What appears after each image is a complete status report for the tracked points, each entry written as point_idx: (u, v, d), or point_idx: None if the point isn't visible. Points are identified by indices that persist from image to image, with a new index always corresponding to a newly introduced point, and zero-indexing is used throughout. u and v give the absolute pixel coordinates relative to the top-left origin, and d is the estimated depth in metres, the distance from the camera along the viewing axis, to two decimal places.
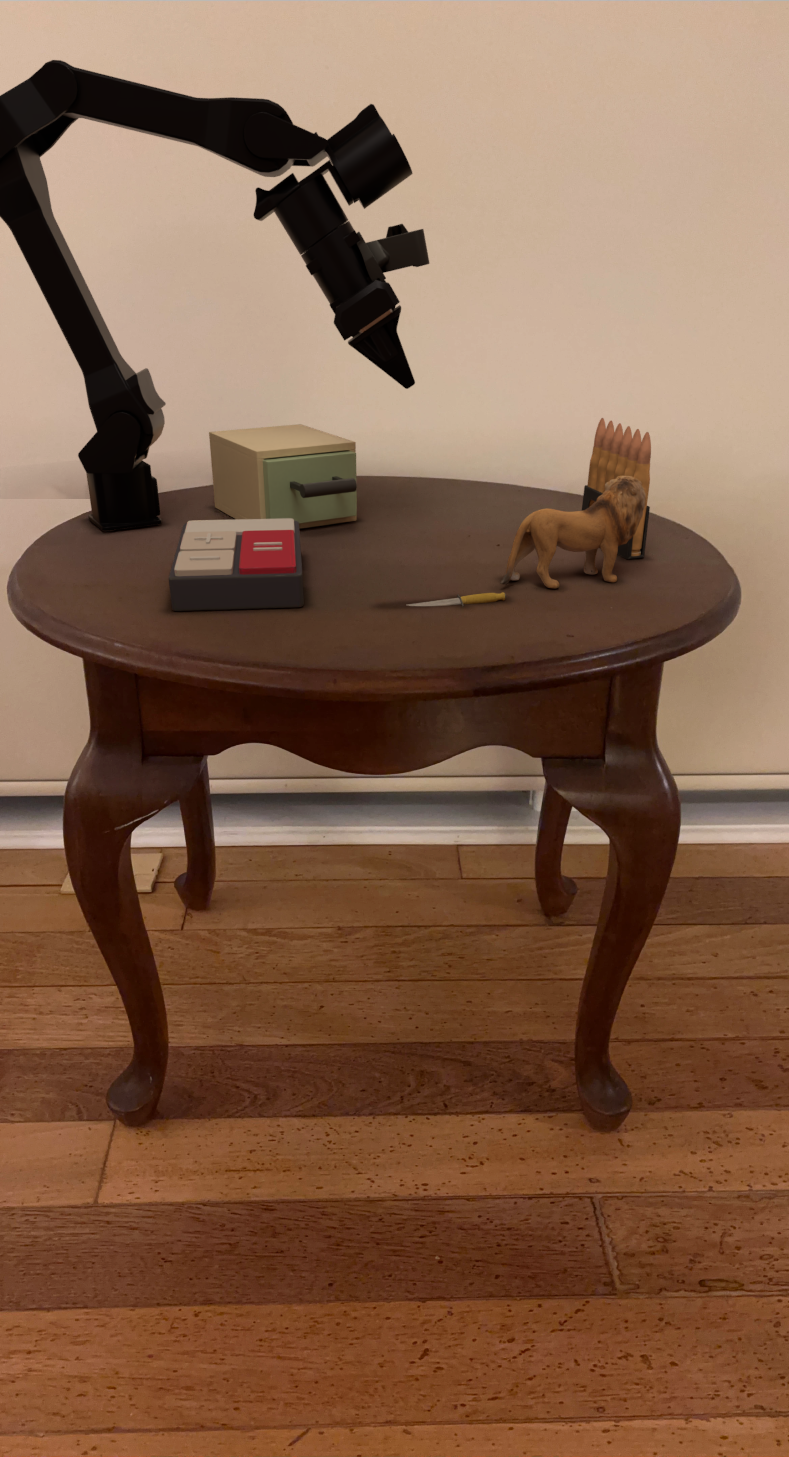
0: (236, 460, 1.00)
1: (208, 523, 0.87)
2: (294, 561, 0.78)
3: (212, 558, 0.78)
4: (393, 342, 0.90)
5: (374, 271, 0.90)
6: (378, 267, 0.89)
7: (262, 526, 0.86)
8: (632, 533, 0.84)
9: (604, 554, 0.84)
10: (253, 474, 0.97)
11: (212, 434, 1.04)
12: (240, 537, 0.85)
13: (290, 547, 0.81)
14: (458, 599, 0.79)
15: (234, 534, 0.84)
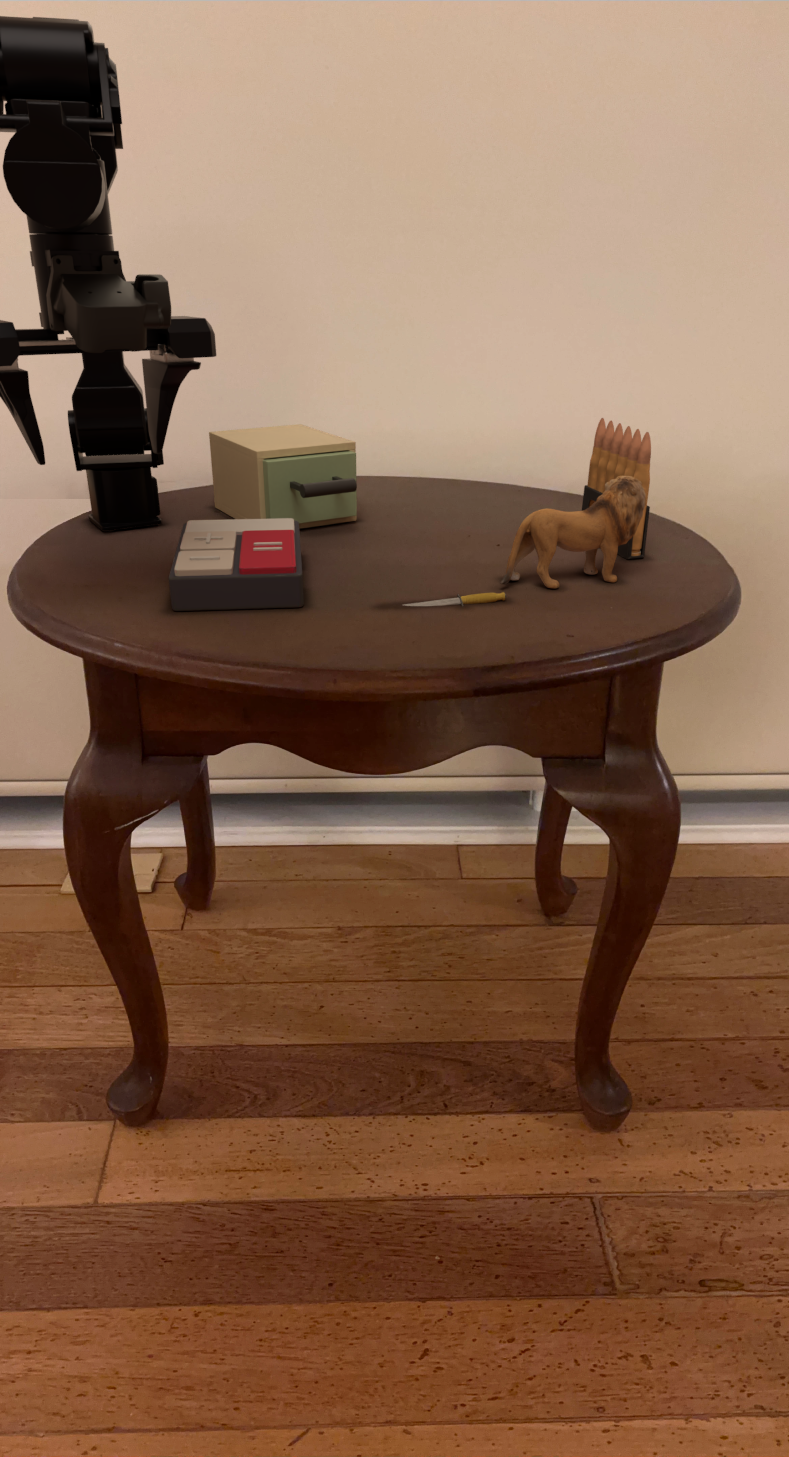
0: (236, 460, 1.00)
1: (208, 523, 0.87)
2: (294, 561, 0.78)
3: (212, 558, 0.78)
4: None
5: (50, 313, 0.65)
6: (52, 312, 0.65)
7: (262, 526, 0.86)
8: (632, 533, 0.84)
9: (604, 554, 0.84)
10: (253, 474, 0.97)
11: (212, 434, 1.04)
12: (240, 537, 0.85)
13: (290, 547, 0.81)
14: (458, 599, 0.79)
15: (234, 534, 0.84)
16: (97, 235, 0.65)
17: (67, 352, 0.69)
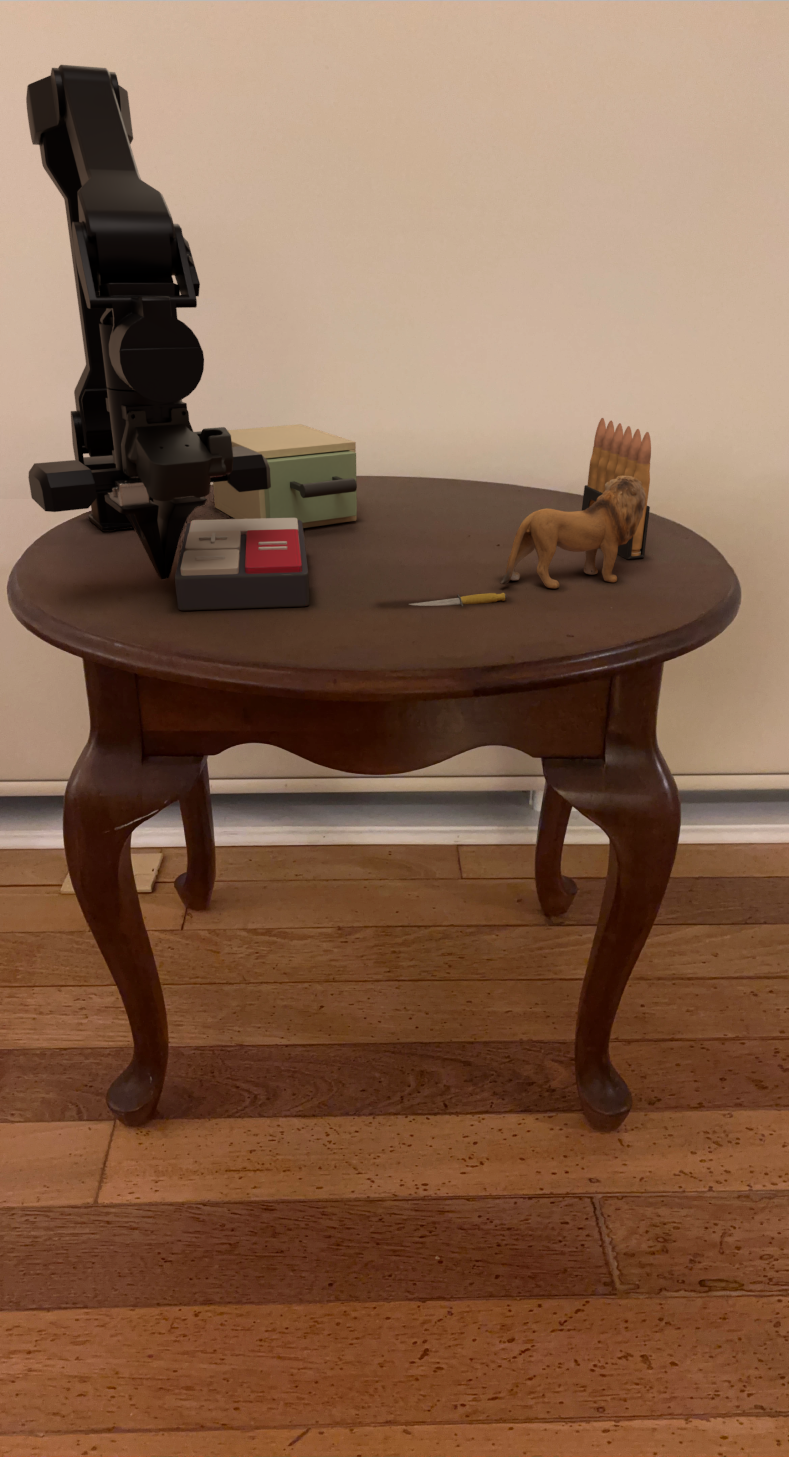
0: None
1: (212, 523, 0.87)
2: (300, 560, 0.78)
3: (218, 557, 0.78)
4: None
5: (123, 460, 0.72)
6: (126, 460, 0.72)
7: (266, 525, 0.87)
8: (632, 533, 0.84)
9: (604, 554, 0.84)
10: None
11: None
12: (244, 536, 0.85)
13: (295, 546, 0.81)
14: (458, 599, 0.79)
15: (238, 533, 0.84)
16: None
17: None
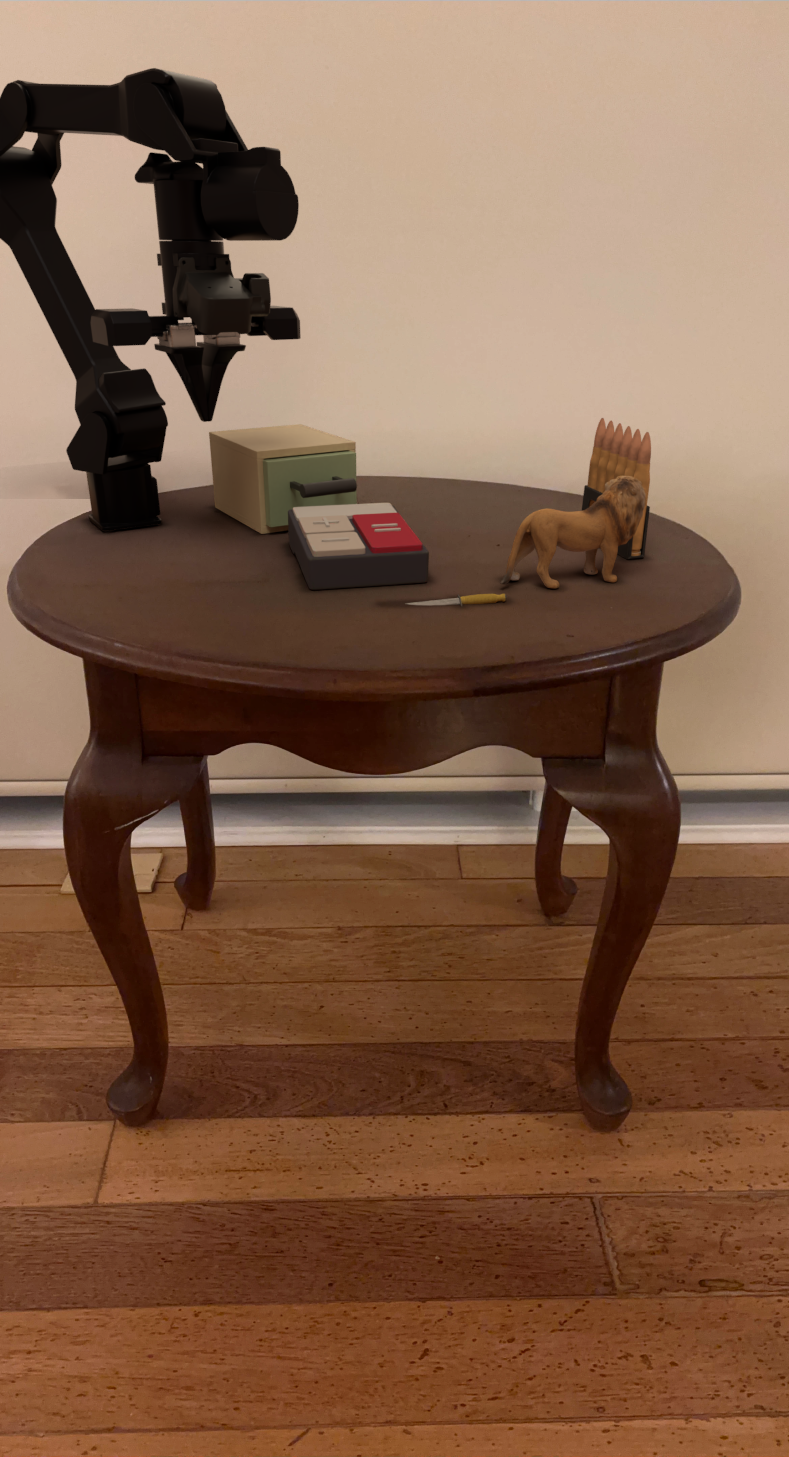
0: (236, 460, 1.00)
1: (314, 509, 0.92)
2: (418, 540, 0.84)
3: (342, 539, 0.83)
4: None
5: (175, 303, 0.83)
6: (177, 302, 0.82)
7: (366, 510, 0.92)
8: (632, 533, 0.84)
9: (604, 554, 0.84)
10: (253, 474, 0.97)
11: (212, 434, 1.04)
12: (350, 521, 0.90)
13: (406, 528, 0.87)
14: (457, 599, 0.79)
15: (346, 518, 0.89)
16: (213, 241, 0.82)
17: None
